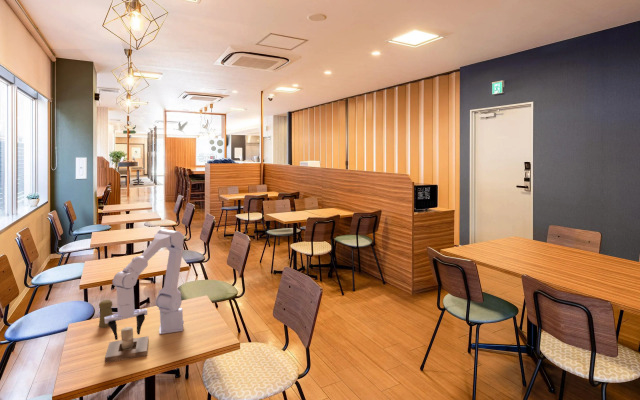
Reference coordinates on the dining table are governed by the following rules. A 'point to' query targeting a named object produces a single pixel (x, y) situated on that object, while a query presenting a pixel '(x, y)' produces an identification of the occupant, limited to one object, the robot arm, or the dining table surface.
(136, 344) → the walnut board
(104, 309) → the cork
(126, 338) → the ash peg
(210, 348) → the dining table surface
